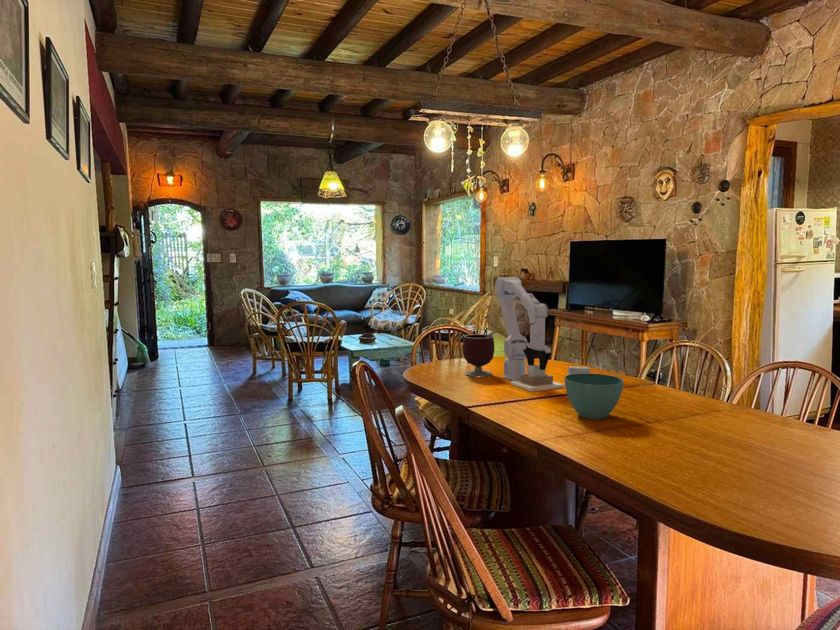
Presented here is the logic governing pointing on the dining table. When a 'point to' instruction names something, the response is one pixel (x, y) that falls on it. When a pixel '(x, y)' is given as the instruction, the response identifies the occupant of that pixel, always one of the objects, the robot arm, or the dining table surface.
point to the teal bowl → (593, 393)
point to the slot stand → (537, 383)
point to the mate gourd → (478, 352)
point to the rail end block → (535, 371)
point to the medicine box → (578, 370)
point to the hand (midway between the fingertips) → (536, 368)
